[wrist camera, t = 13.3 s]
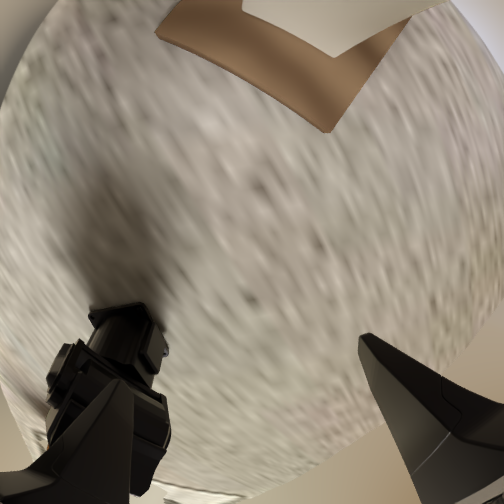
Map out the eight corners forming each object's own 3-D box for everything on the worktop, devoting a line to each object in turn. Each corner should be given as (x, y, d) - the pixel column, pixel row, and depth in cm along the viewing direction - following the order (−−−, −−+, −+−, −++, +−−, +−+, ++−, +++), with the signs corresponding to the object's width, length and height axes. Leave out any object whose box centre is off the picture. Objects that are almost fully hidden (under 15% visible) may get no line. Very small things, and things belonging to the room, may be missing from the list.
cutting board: (323, 132, 18) (330, 132, 17) (159, 38, 14) (154, 32, 13) (408, 12, 13) (417, 7, 12) (276, -71, 9) (279, -80, 8)
